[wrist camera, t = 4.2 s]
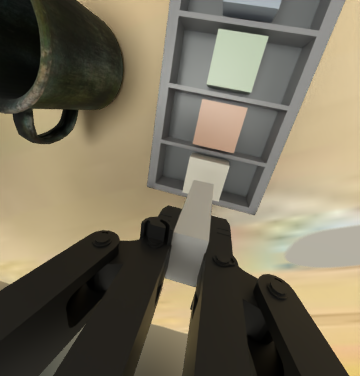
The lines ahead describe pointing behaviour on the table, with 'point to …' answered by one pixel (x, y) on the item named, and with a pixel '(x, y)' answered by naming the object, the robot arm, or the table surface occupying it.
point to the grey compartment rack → (255, 101)
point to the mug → (55, 63)
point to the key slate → (251, 9)
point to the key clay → (219, 125)
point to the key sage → (236, 61)
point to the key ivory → (206, 173)
